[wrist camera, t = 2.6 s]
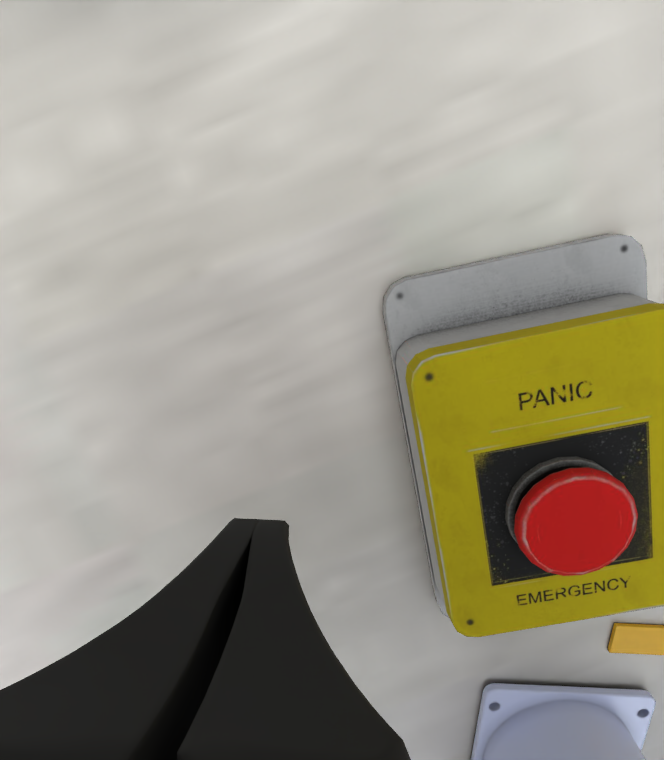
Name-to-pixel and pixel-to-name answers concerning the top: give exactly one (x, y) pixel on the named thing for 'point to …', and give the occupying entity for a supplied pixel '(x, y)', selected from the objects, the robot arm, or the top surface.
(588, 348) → the emergency button
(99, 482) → the top surface
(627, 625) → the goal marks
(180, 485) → the top surface
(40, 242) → the top surface
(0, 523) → the top surface
